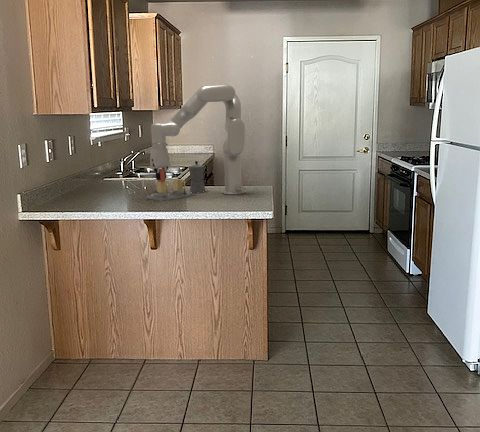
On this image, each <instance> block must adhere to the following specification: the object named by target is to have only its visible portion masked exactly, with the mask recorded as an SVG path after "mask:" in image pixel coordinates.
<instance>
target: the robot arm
mask: <svg viewBox="0 0 480 432" xmlns="http://www.w3.org/2000/svg"><path fill="white" fill-rule="evenodd" d="M215 102H216V103H218V102H223V103H224V106H225V122H224V123H225V124H224V129H225V132H227V138H226V139H225V140H224V141H223V144H222V152H223V153H222V154H223V163H224V164H223V167H224V190H222V191H221V192H222V194H224V195H242V194H244V193H245V191H246V189H247V188H246V187H244V185H243V184H242V158H241V154H242V152H244V149H245V141H246V139H245V138H246V137H245V136H246V135H245V134H246V126H245V122H244V121H243V120H242V105H241V100H240V98H239V96H238V95H237V94H236V90H235V88H234V87H233V86H232V85H229V84H224V85H222V84H221V85H205V86H201V87H200V88H198V89H197V91H196V92H194V94H193V95H192V96H191V97H190V98H189V99H188V100H187V101H186V102H185V103H184V104H183V106H181V108H180V109H179V110H178V111H177V112H176V113H175V115H173V116H172V117H171V118H170V120H169V121H168V122H167V123H163V122H160V123H159V122H158V123H152V124H151V125H150V126H151V127H150V130H151V144H152V145H151V146H152V148H151V150H150V156H149V158H150V159H149V161H150V162H149V164H150V167H149V170H152V171H153V172H154V173H155V178H156V179H155V180H161V178H160V173H159V169H160V168H162V169H164V170H165V180H166V179H167V171H168V170H169V168H170V167H171V164H170V155H169V150H168V148H167V146H168V145H169V144H168V143H167V138H166V137H176V136H178V135H179V134H180V132H181V128H183V127H184V126H185V125H186V124H187V123H188V122H189V121H190V120H192V119H194V118H195V117H196V116H197V115H198V114H199V113H200V112H201V110H202V109H203V108H204V107H205V106H207V104H208V103H215Z"/></svg>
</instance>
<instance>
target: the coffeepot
mask: <svg viewBox="0 0 480 432" xmlns="http://www.w3.org/2000/svg"><path fill="white" fill-rule="evenodd" d="M194 163H195V164H193V165H189V166H188V171H189V172H188V173H189V177H190V178H191V180H190V187H189V192H192V193H196V194H198V193H197V192H202V193H204V192H203V191H205V192H206V187H205V183H204V182H205V181H204V176H205V175H204V174H205V167H206V166H205V165H202V164H199V161H194Z"/></svg>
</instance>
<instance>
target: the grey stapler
mask: <svg viewBox="0 0 480 432" xmlns="http://www.w3.org/2000/svg"><path fill="white" fill-rule="evenodd" d="M154 184H155V187H156V188H157V180H156V179H155V180H154ZM166 190H167V191H168V188H167V184H166ZM169 191H171V190H170V189H169Z"/></svg>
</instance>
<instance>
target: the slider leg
mask: <svg viewBox="0 0 480 432" xmlns="http://www.w3.org/2000/svg"><path fill="white" fill-rule="evenodd" d="M159 173H160V178H161V180H157V187H156V193H164V192H167V190H166V184H167V188H168V195H169V190H170V182H169V181H166V179H165V170H164V169H162V167H159Z"/></svg>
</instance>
